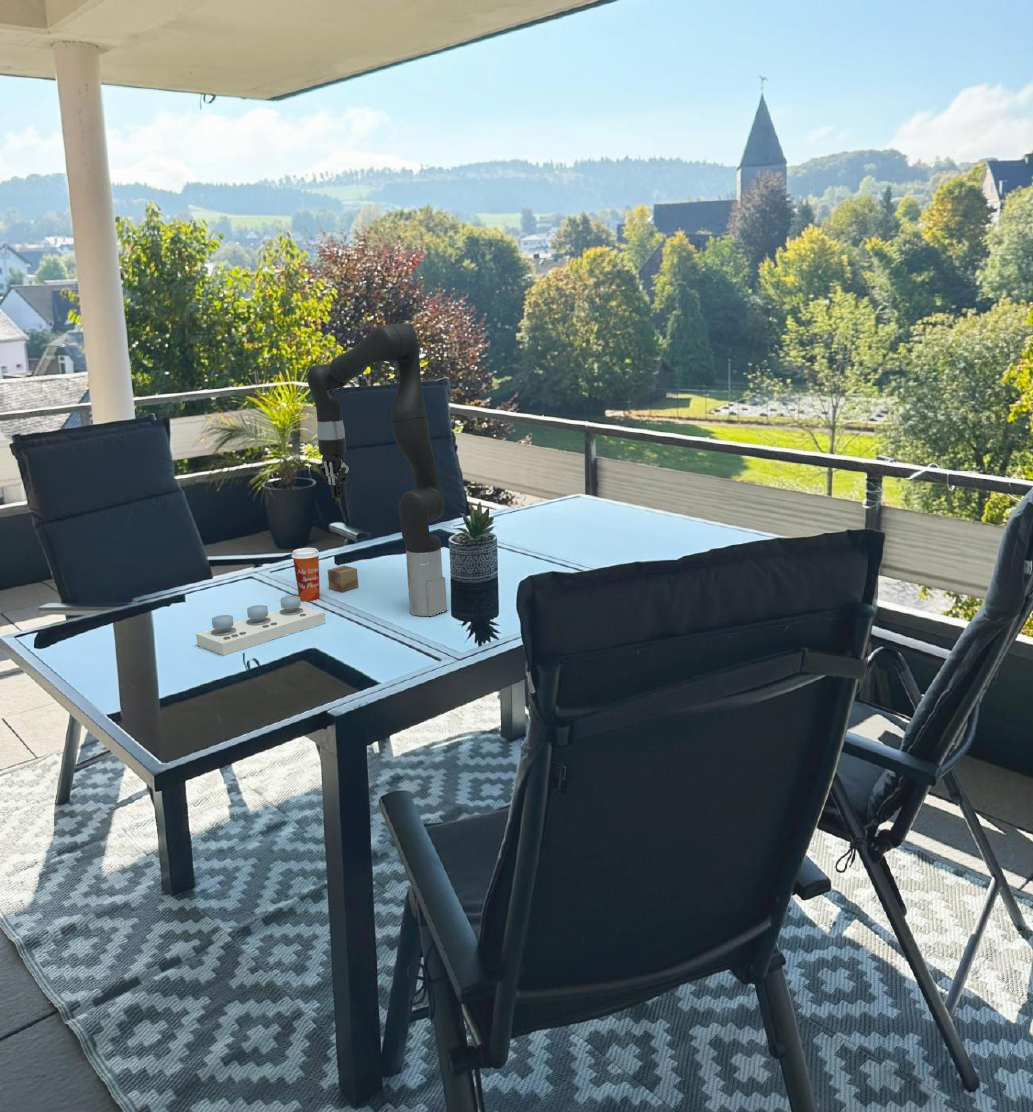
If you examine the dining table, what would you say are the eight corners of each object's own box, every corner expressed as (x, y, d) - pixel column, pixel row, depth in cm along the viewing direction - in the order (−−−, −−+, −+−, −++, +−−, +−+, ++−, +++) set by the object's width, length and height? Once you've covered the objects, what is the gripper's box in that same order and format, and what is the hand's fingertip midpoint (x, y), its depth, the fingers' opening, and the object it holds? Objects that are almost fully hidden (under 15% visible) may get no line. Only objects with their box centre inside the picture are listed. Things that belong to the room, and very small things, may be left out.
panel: (325, 623, 260) (324, 611, 259) (223, 655, 239) (222, 642, 238) (298, 614, 268) (297, 603, 267) (197, 645, 247) (195, 632, 246)
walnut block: (358, 588, 291) (356, 568, 290) (342, 593, 287) (340, 573, 285) (345, 584, 295) (344, 565, 294) (329, 589, 291) (327, 569, 289)
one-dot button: (304, 605, 261) (303, 598, 260) (288, 610, 257) (287, 602, 257) (293, 602, 264) (292, 594, 263) (277, 606, 260) (276, 599, 260)
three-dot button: (237, 625, 247) (236, 617, 246) (219, 630, 243) (218, 622, 243) (226, 621, 250) (225, 613, 249) (208, 626, 246) (207, 618, 246)
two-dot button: (272, 615, 254) (271, 607, 253) (255, 620, 250) (254, 612, 250) (260, 611, 257) (260, 604, 256) (243, 616, 253) (243, 608, 253)
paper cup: (300, 604, 278) (295, 555, 274) (292, 597, 284) (288, 549, 281) (327, 599, 281) (323, 551, 277) (319, 592, 288) (315, 545, 284)
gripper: (356, 436, 278) (361, 497, 282) (327, 433, 287) (332, 493, 291) (335, 440, 273) (340, 502, 277) (306, 436, 282) (311, 497, 286)
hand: (336, 497), depth 284 cm, fingers closed
